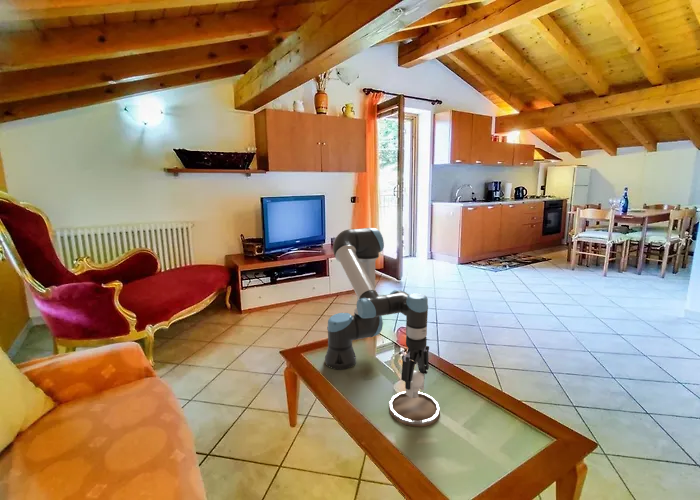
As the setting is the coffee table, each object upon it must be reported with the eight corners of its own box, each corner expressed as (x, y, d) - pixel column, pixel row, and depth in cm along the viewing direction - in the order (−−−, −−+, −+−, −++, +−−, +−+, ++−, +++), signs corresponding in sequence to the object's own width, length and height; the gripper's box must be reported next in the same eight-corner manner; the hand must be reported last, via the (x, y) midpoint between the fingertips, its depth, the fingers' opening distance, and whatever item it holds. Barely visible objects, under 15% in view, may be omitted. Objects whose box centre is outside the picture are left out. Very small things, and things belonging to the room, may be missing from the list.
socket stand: (378, 409, 137) (378, 404, 136) (409, 388, 149) (410, 385, 149) (419, 434, 123) (419, 430, 123) (449, 410, 136) (449, 406, 135)
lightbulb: (423, 403, 131) (424, 376, 129) (406, 401, 133) (406, 375, 130) (423, 393, 137) (424, 367, 135) (406, 391, 139) (407, 366, 136)
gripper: (407, 347, 121) (406, 407, 125) (440, 331, 134) (437, 386, 138) (391, 340, 126) (390, 398, 131) (423, 325, 139) (422, 378, 144)
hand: (414, 391), depth 135 cm, fingers closed on lightbulb, 6 cm apart
